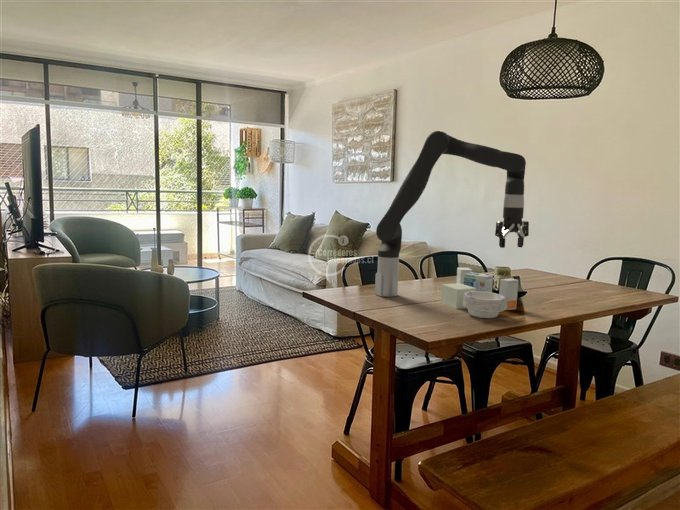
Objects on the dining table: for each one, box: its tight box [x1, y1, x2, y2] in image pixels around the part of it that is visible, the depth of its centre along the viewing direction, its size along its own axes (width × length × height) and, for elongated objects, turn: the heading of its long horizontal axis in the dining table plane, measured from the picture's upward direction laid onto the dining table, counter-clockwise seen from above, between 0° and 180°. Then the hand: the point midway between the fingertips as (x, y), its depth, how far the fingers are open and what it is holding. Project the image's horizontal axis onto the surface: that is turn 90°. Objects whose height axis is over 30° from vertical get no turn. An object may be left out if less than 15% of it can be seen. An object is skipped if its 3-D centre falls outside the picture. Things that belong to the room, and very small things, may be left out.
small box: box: [456, 267, 474, 284], centre depth 231 cm, size 8×6×10 cm
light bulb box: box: [464, 271, 494, 293], centre depth 215 cm, size 11×7×11 cm, turn 47°
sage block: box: [440, 282, 476, 310], centre depth 201 cm, size 9×11×8 cm
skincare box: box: [498, 277, 519, 311], centre depth 196 cm, size 6×4×12 cm
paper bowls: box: [463, 291, 506, 319], centre depth 185 cm, size 15×15×8 cm
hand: (511, 247), depth 195 cm, fingers open, 8 cm apart
